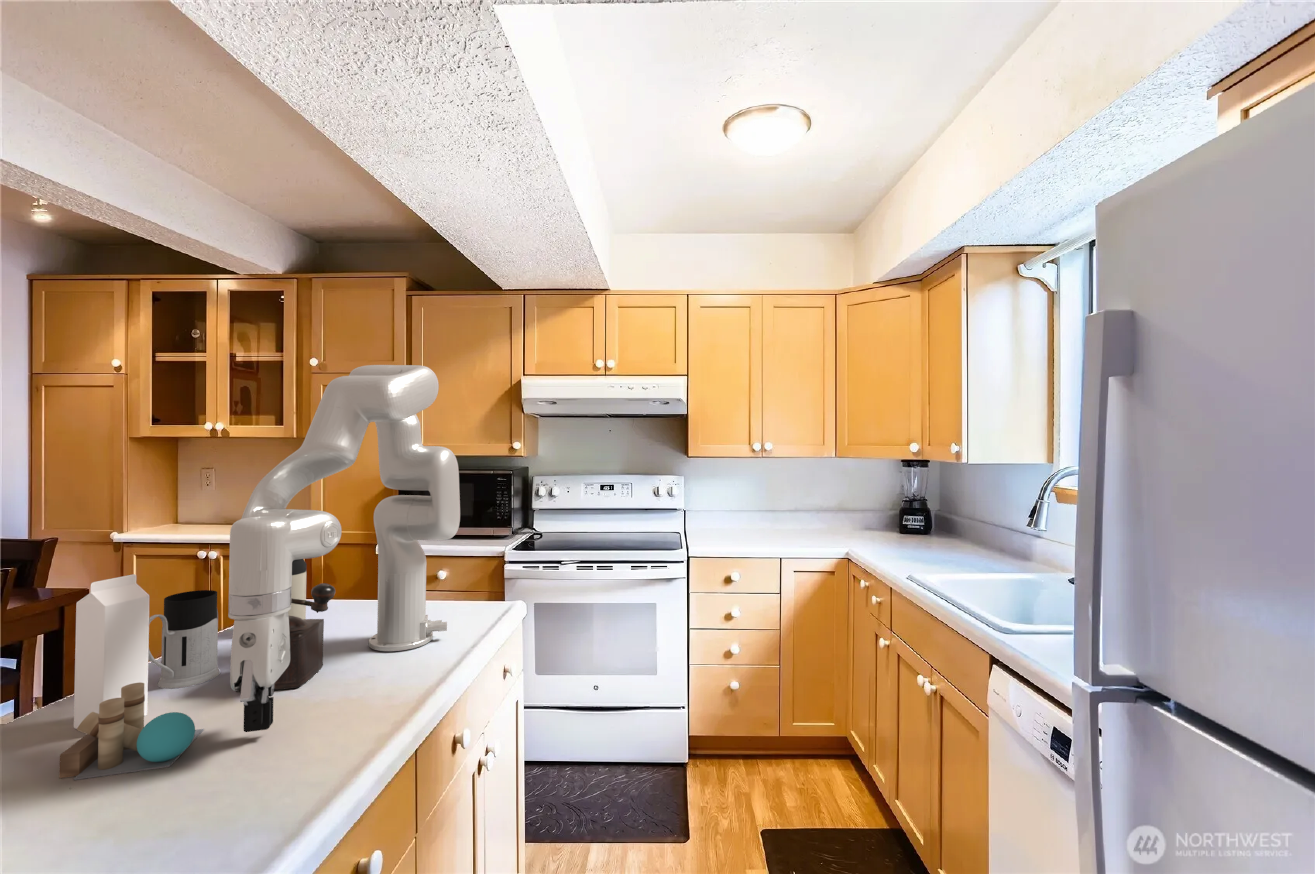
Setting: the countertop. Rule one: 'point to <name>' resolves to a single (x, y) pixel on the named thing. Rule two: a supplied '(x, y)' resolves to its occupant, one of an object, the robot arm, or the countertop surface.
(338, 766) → the countertop surface
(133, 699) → the rear pin
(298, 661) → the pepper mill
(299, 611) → the travel mug
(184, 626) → the glass holder
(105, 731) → the rear pin
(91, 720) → the front pin
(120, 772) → the pin deck mark
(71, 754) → the back wall
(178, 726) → the ball
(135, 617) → the milk
